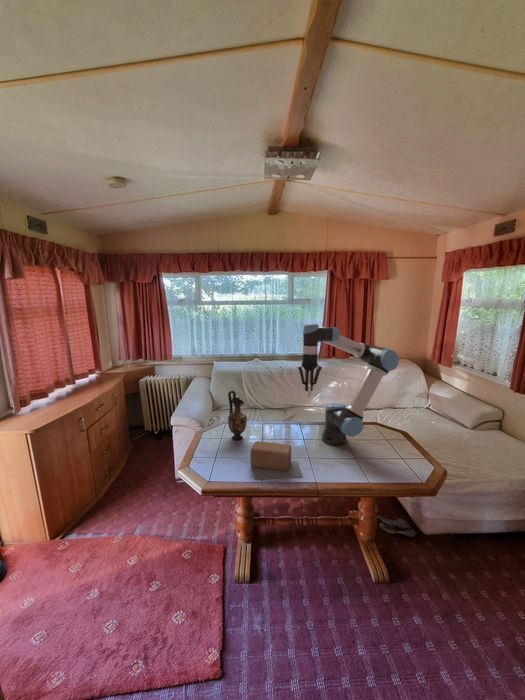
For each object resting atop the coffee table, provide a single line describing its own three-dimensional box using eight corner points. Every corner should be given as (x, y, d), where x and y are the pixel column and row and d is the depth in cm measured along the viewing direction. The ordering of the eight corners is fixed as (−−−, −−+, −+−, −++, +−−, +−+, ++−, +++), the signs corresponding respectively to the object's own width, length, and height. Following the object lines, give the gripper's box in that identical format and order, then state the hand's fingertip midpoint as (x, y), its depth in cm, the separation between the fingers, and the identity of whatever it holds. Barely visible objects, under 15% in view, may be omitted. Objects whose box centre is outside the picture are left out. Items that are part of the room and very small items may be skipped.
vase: (239, 444, 174) (239, 396, 169) (223, 439, 181) (222, 392, 176) (250, 436, 184) (250, 391, 179) (234, 432, 190) (234, 388, 186)
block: (289, 453, 143) (250, 449, 147) (288, 472, 145) (250, 467, 149) (291, 444, 153) (254, 440, 157) (291, 461, 154) (254, 457, 159)
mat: (297, 461, 155) (297, 461, 155) (303, 477, 141) (303, 476, 141) (252, 464, 153) (252, 463, 153) (254, 479, 139) (254, 479, 139)
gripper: (320, 352, 156) (318, 394, 160) (296, 352, 155) (295, 394, 158) (324, 354, 148) (322, 398, 152) (299, 354, 147) (298, 399, 151)
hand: (308, 396), depth 155 cm, fingers closed
